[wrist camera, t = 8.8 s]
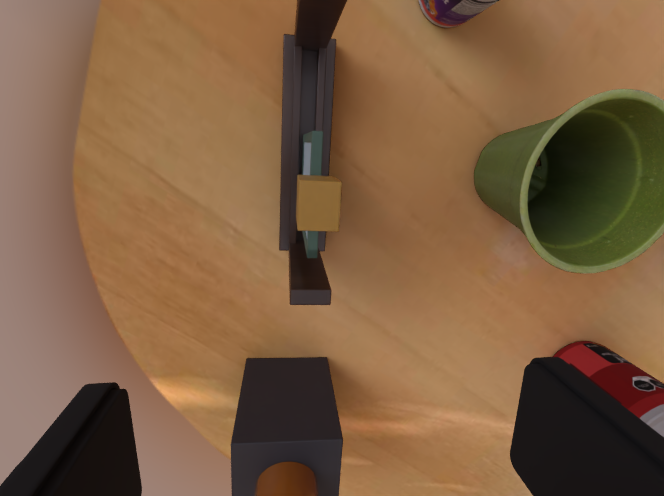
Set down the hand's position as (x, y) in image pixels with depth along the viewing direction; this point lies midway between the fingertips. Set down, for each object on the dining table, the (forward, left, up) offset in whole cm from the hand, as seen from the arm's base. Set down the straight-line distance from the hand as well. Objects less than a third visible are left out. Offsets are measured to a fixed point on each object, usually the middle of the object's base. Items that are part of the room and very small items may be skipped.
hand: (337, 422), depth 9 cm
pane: (0, +3, -24) cm, 24 cm away
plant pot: (+19, +5, -26) cm, 33 cm away
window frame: (0, +6, -26) cm, 27 cm away
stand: (-1, -18, -26) cm, 32 cm away
